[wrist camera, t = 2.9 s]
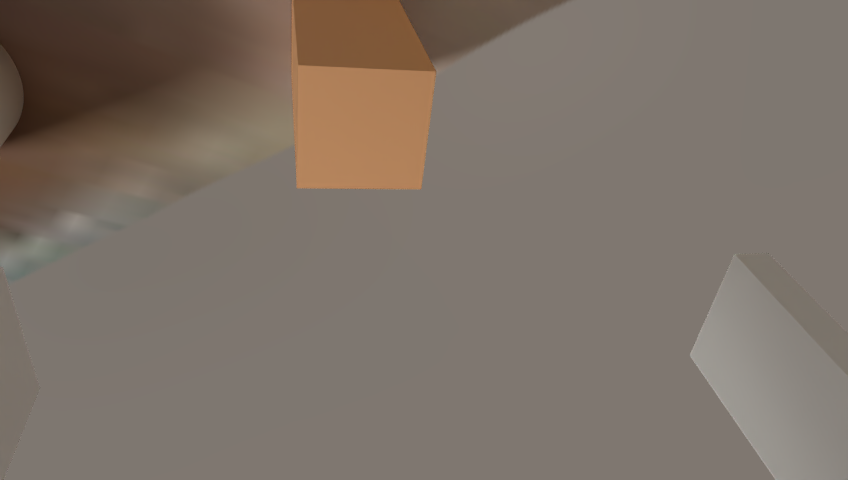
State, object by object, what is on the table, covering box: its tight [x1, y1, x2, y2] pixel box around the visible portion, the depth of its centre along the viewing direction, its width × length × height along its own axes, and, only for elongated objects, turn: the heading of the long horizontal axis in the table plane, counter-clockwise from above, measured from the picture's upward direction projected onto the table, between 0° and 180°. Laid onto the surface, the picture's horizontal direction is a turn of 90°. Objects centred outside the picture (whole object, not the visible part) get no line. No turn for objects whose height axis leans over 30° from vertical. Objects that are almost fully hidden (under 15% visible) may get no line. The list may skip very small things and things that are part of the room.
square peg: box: [291, 0, 436, 189], centre depth 25 cm, size 4×4×10 cm
